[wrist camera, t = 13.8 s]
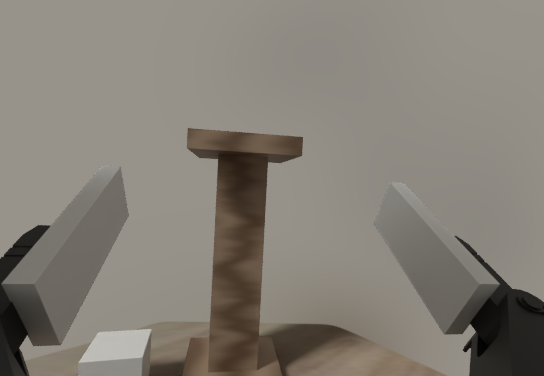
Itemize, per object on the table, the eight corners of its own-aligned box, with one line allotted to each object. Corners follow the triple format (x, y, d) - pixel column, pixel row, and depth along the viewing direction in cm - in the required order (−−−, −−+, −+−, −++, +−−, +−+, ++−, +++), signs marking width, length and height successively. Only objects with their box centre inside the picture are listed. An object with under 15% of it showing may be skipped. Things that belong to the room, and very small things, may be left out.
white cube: (96, 381, 35) (98, 332, 35) (149, 376, 37) (151, 328, 37) (75, 421, 29) (78, 362, 29) (140, 413, 31) (142, 357, 31)
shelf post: (174, 419, 30) (187, 128, 30) (190, 348, 43) (200, 144, 42) (287, 412, 32) (302, 137, 31) (270, 345, 45) (281, 149, 44)
